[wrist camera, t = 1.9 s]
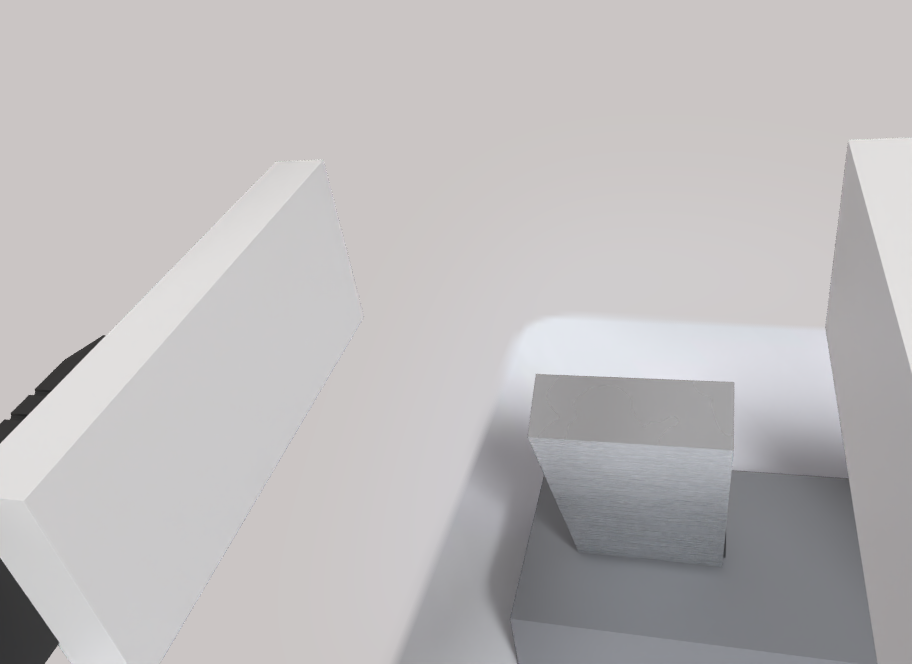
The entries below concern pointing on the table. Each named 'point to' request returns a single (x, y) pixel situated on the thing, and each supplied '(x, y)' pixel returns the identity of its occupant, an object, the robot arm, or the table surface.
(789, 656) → the switch base
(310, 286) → the robot arm
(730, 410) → the lever
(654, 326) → the table surface
